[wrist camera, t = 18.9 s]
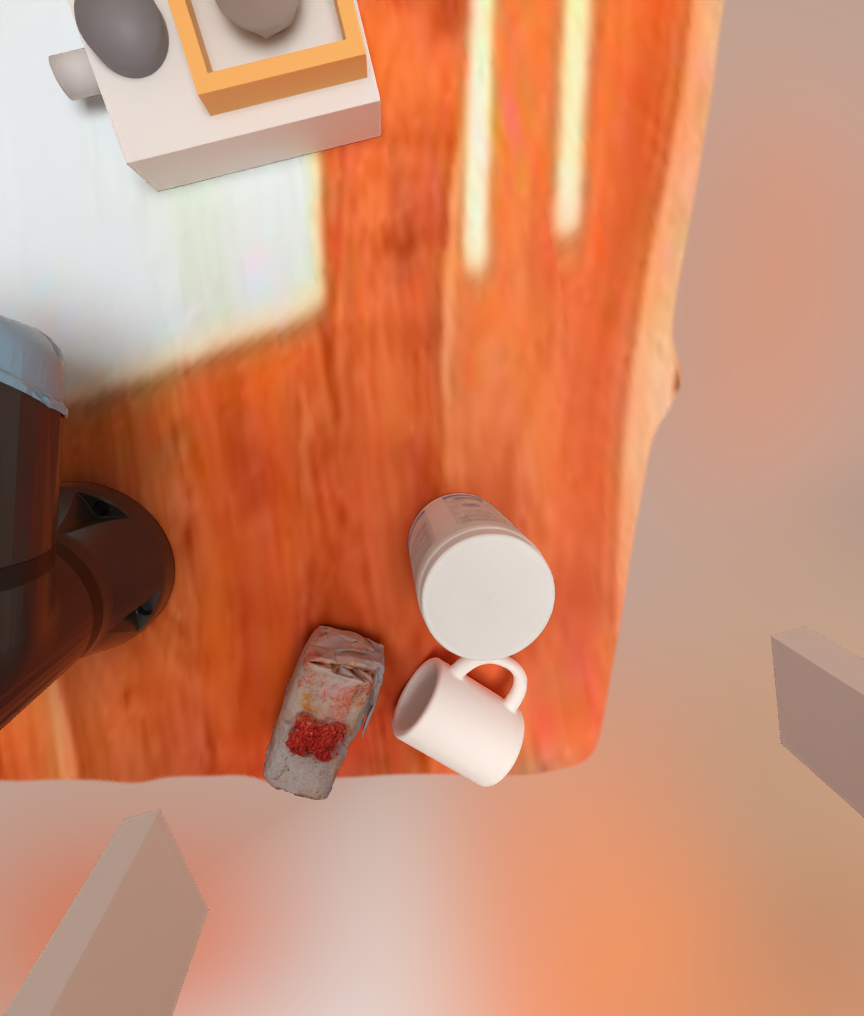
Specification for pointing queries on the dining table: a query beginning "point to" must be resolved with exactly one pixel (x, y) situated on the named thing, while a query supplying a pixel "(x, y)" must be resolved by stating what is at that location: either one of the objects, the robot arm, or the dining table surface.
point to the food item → (323, 711)
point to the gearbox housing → (221, 84)
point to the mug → (462, 718)
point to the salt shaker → (260, 14)
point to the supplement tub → (478, 578)
